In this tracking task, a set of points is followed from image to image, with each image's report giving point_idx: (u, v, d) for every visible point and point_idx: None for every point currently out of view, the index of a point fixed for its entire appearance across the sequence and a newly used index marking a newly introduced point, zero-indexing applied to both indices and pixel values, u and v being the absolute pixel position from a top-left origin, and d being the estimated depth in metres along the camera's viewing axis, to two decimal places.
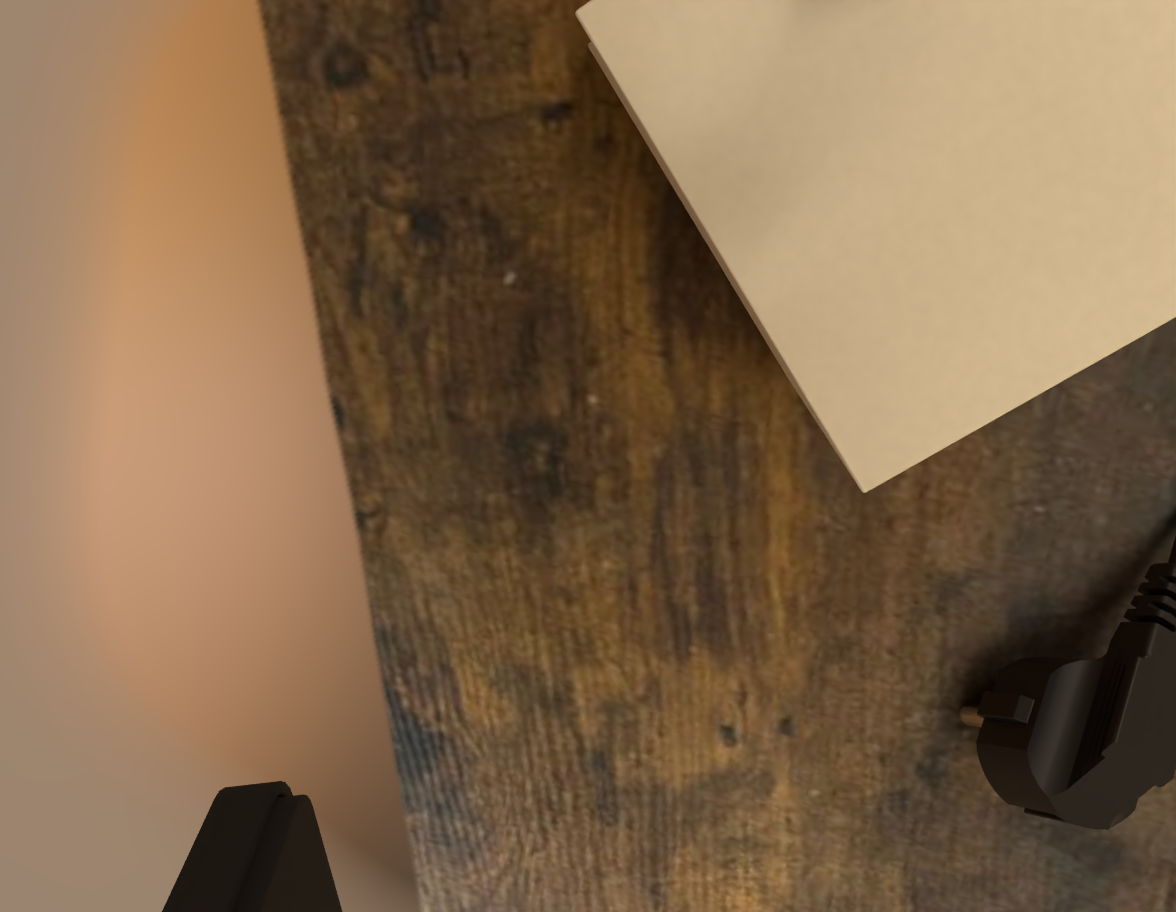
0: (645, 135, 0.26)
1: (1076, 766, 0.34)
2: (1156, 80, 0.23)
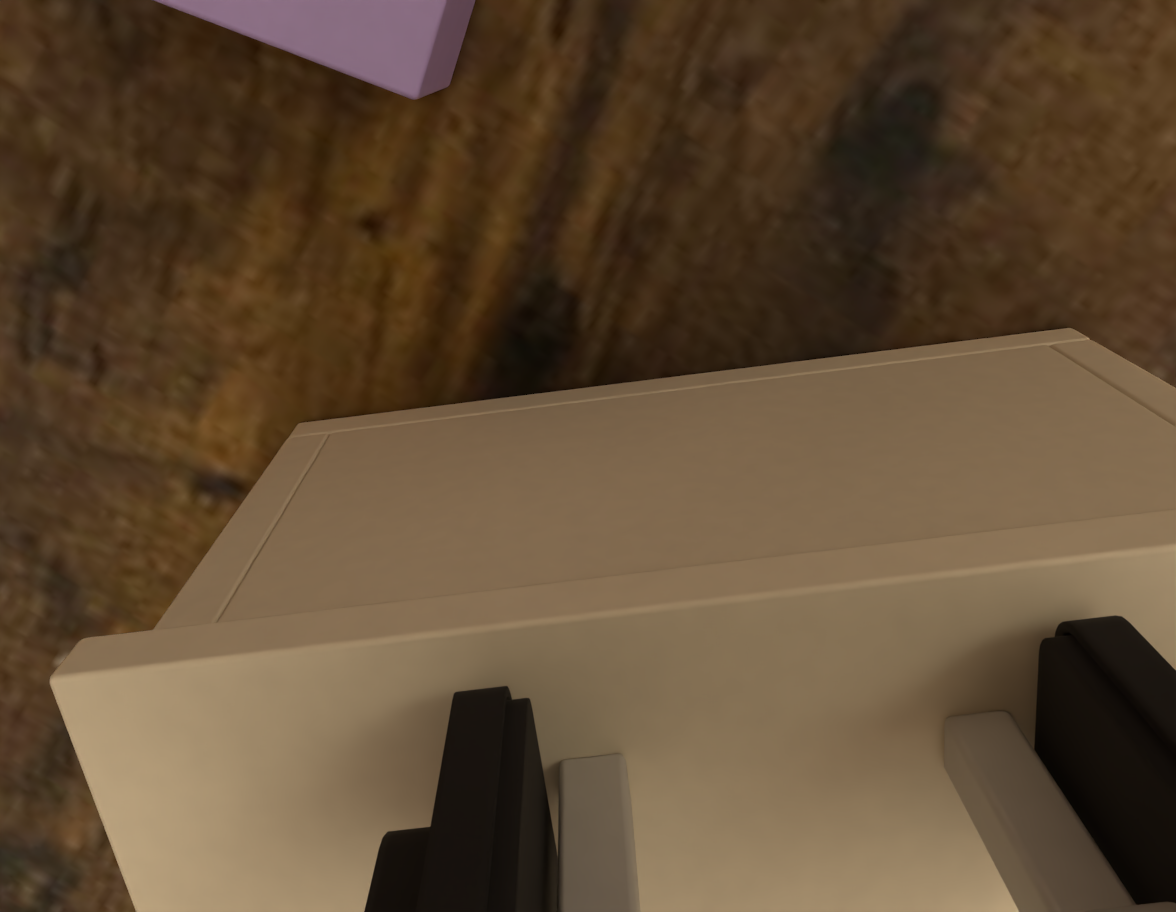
0: None
1: None
2: None
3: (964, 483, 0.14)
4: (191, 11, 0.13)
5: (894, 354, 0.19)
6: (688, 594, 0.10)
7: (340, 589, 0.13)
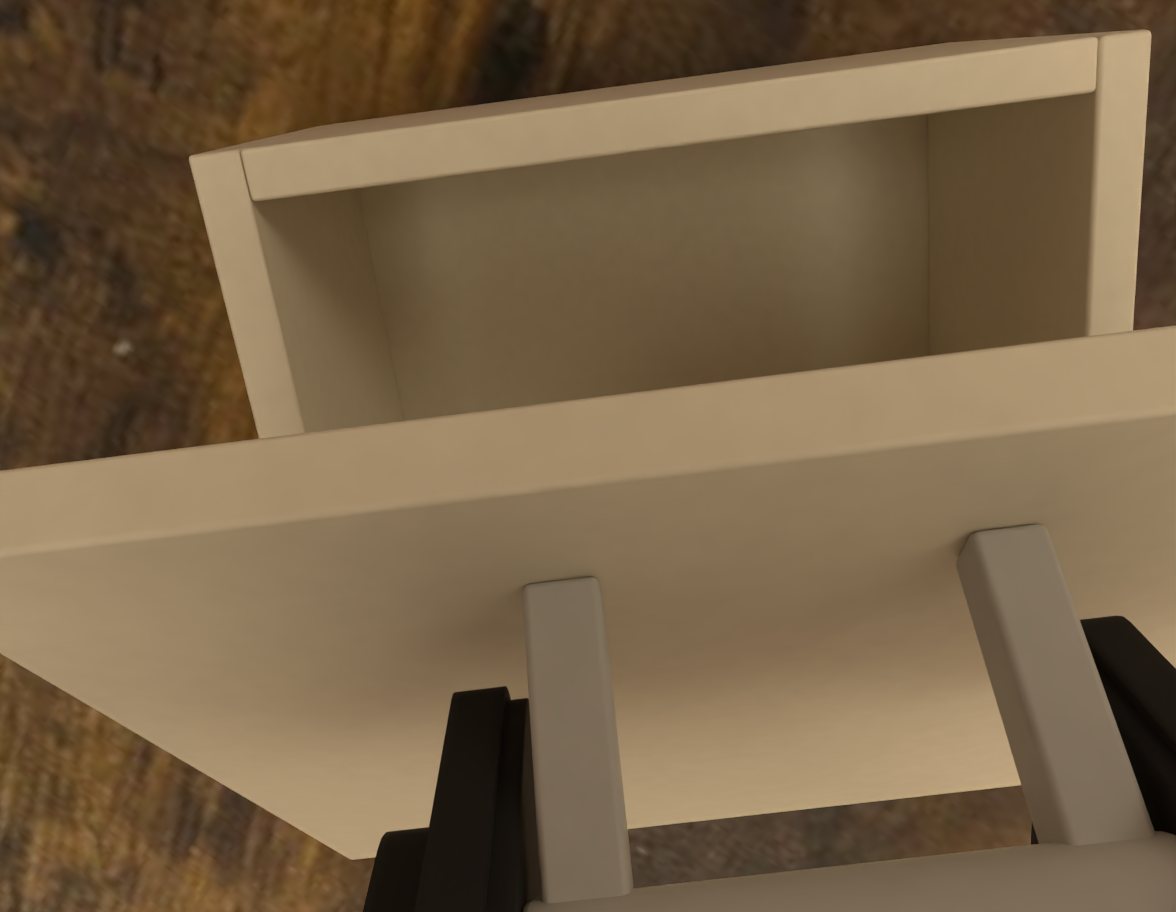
0: None
1: None
2: (933, 721, 0.15)
3: (830, 65, 0.18)
4: None
5: None
6: (687, 450, 0.08)
7: (357, 129, 0.17)
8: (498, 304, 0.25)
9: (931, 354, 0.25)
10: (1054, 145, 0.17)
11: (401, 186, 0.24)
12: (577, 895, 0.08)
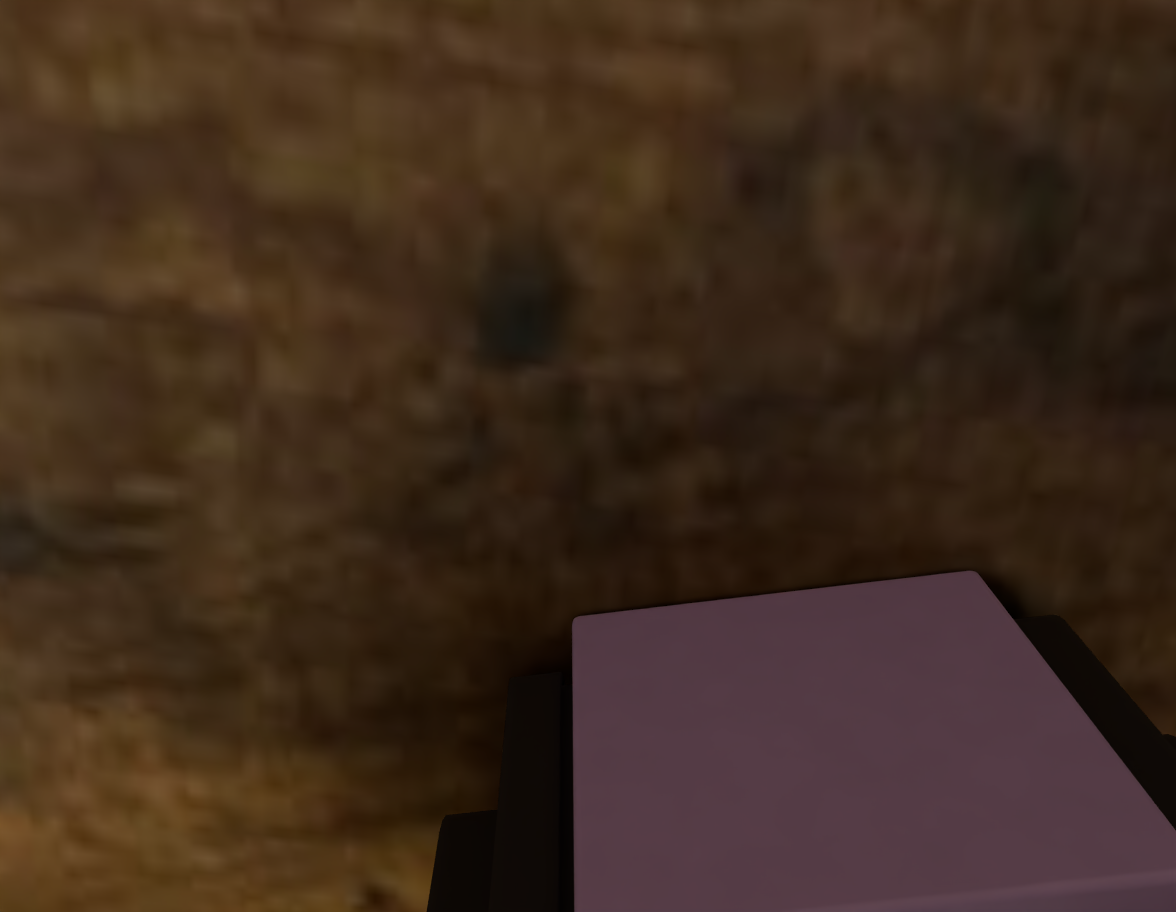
0: None
1: None
2: None
3: None
4: None
5: None
6: None
7: None
8: None
9: None
10: None
11: None
12: None
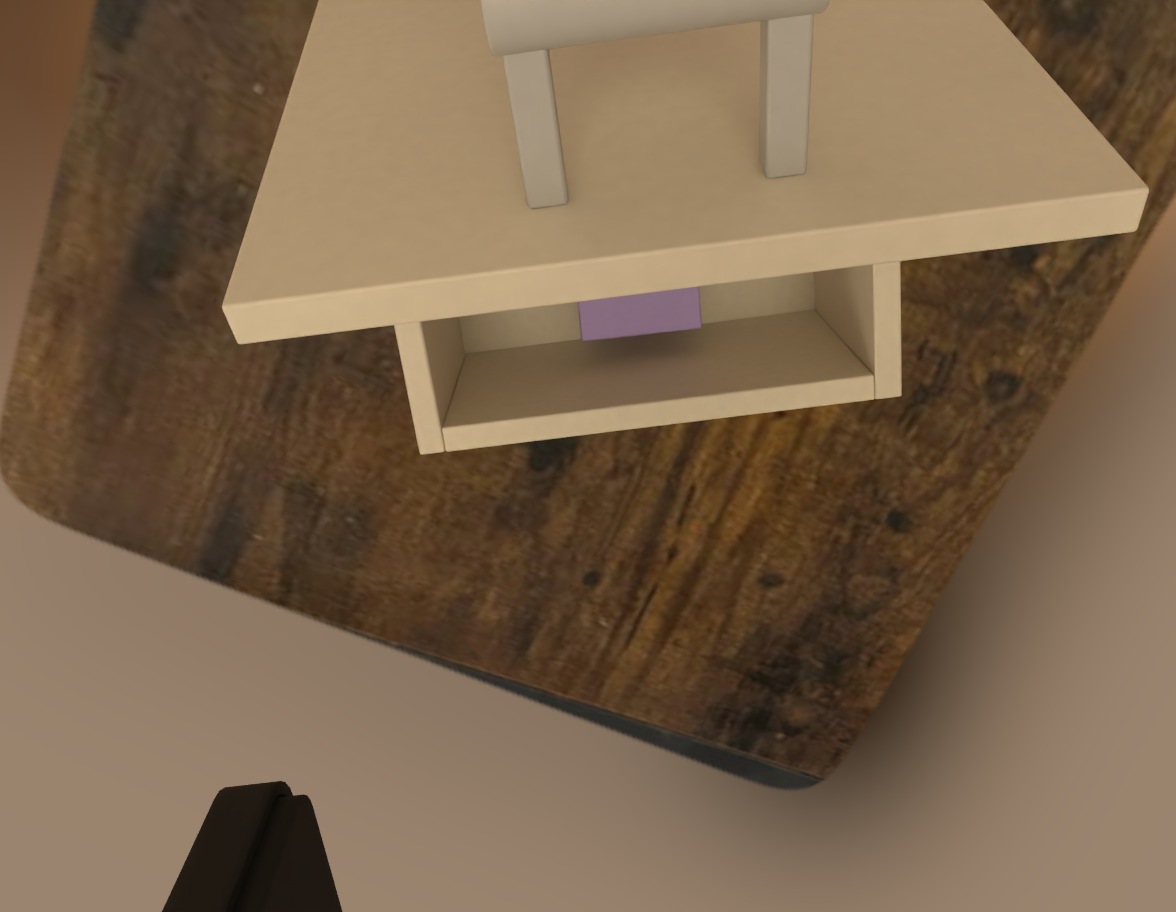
0: None
1: None
2: None
3: None
4: None
5: None
6: (732, 251, 0.16)
7: None
8: None
9: None
10: (441, 386, 0.32)
11: (786, 293, 0.38)
12: (796, 19, 0.15)
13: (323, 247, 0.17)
